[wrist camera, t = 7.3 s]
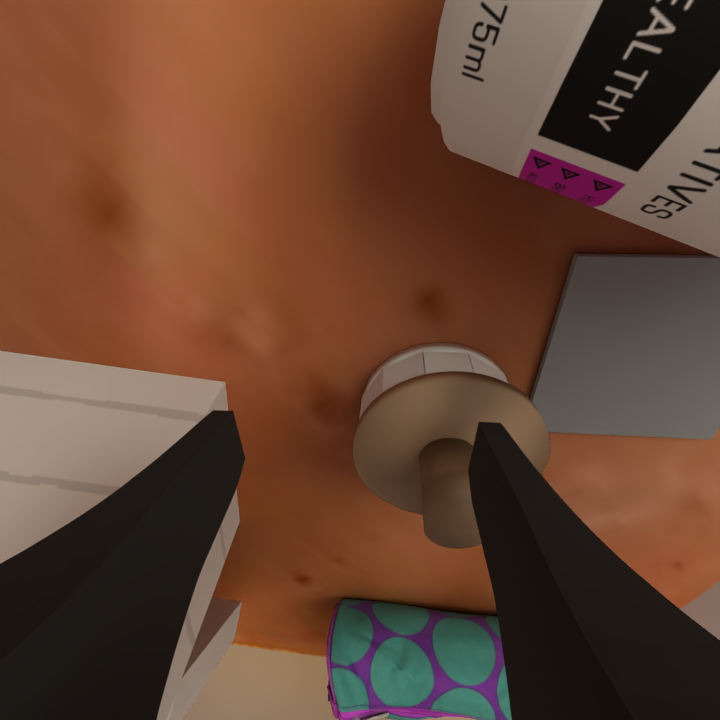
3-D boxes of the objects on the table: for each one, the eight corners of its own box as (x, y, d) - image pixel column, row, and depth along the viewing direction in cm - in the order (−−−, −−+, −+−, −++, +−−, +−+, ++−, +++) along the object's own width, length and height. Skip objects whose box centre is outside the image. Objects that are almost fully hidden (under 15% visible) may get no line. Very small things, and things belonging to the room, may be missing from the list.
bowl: (526, 345, 21) (547, 384, 18) (495, 458, 26) (508, 503, 23) (362, 339, 21) (357, 377, 18) (363, 451, 26) (359, 494, 23)
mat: (828, 257, 17) (836, 260, 17) (706, 434, 23) (711, 439, 23) (574, 253, 18) (577, 256, 18) (521, 426, 24) (523, 431, 24)
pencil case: (335, 622, 42) (321, 745, 34) (334, 581, 37) (317, 713, 29) (529, 640, 41) (563, 772, 33) (555, 601, 36) (602, 744, 28)
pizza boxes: (86, 573, 39) (-103, 860, 24) (-59, 314, 23) (-951, 729, 8) (270, 598, 39) (195, 900, 24) (263, 359, 23) (5, 858, 8)
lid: (565, 370, 17) (616, 449, 13) (526, 507, 23) (553, 591, 19) (347, 371, 18) (333, 446, 14) (359, 502, 24) (352, 582, 20)
